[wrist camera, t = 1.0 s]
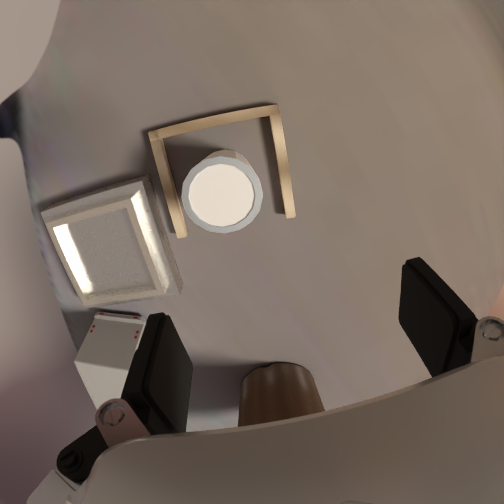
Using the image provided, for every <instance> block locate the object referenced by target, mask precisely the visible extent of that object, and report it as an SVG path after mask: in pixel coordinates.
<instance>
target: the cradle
mask: <svg viewBox="0 0 504 504" xmlns="http://www.w3.org/2000/svg"><path fill="white" fill-rule="evenodd" d="M264 116H269V119H270V124H271V130H272V136H273V142H274V148H275V154H276V160H277V166H278V172H279V178H280V185H281V191H282V198H283V204H284V211H285V216H286V219H287V218H293V217H296V215H295V208H294V201H293V193H292V186H291V179H290V172H289V166H288V159H287V153H286V146H285V140H284V134H283V128H282V122H281V116H280V110H279V104H274V105H267V106H261V107H255V108H249V109H243V110H238V111H233V112H228V113H223V114H218V115H213V116H208V117H204V118H200V119H195V120H191V121H187V122H183V123H179V124H175V125H171V126H167V127H164V128H160V129H157V130H153V131H150V132H148V135H149V139H150V143H151V146H152V150H153V154H154V158H155V162H156V165H157V169H158V173H159V177H160V180H161V184H162V187H163V191H164V194H165V198H166V201H167V205H168V208H169V212H170V215H171V218H172V222H173V225H174V228H175V231H176V235H177V238H183V237H186V236H187V233H188V231H187V227H186V224H185V221H184V217H183V214H182V210H181V206H180V203H179V199H178V196H177V192H176V188H175V185H174V181H173V177H172V173H171V170H170V166H169V162H168V158H167V154H166V150H165V146H164V142H163V138H166V137H170V136H173V135H177V134H181V133H185V132H190V131H194V130H198V129H202V128H207V127H211V126H216V125H221V124H226V123H231V122H236V121H241V120H247V119H252V118H258V117H264Z"/></svg>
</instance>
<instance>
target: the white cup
mask: <svg viewBox="0 0 504 504" xmlns="http://www.w3.org/2000/svg"><path fill="white" fill-rule="evenodd" d="M262 198H263V193H262V188H261V183H260V180H259V178H258V177H257V175H256V173H255V172H254V170H253V169H252V167H251V165H250V164H249V163H248V161H247V160H246V158H245V157H244V156H242V155H241V154H239V153H237V152H236V151H231V150H225V149H224V150H220V151H215V152H213V153H212V154H210V155H209V156H207V157H206V158H205V159H203V160H202V161H201V162H200V163H198V164H197V165H196V166H195V167H193V168H192V169H191V170H190V172H189V174H188V175H187V177H186V179H185V180H184V182H183V187H182V196H181V199H182V202H183V205H184V209H185V212H186V213H187V214H188V216H189V217H190V218H191V219H192V221H193V222H194V223H195V224H196V225H198V226H200V227H202V228H204V229H205V230H207V231H211V232H217V233H228V232H233V231H238V230H240V229H241V228H243V227H245V226H246V225H248V224H249V223H251V222H252V220H253V219H254V218H255V216H256V215H257V213H258V212H259V211H260V207H261V202H262Z"/></svg>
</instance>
